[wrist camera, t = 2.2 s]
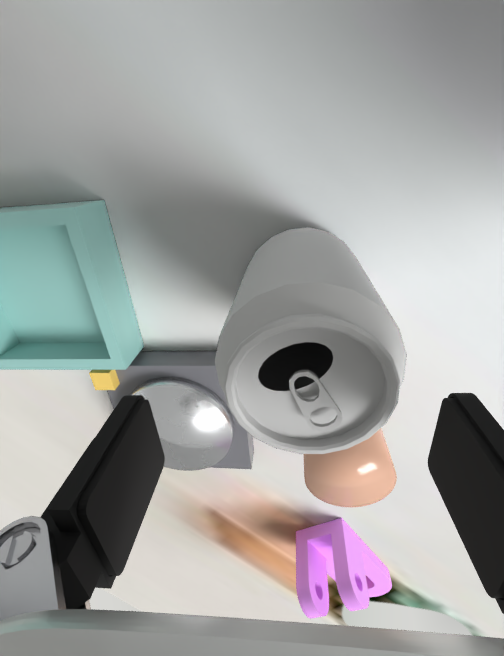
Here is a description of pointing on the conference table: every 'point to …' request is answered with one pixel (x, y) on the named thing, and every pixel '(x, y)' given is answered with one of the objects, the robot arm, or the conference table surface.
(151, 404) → the checker pad
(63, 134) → the conference table surface
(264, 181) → the conference table surface
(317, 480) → the peach rounded knob
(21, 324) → the trough
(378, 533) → the conference table surface
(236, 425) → the base
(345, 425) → the can
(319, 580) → the bracket
